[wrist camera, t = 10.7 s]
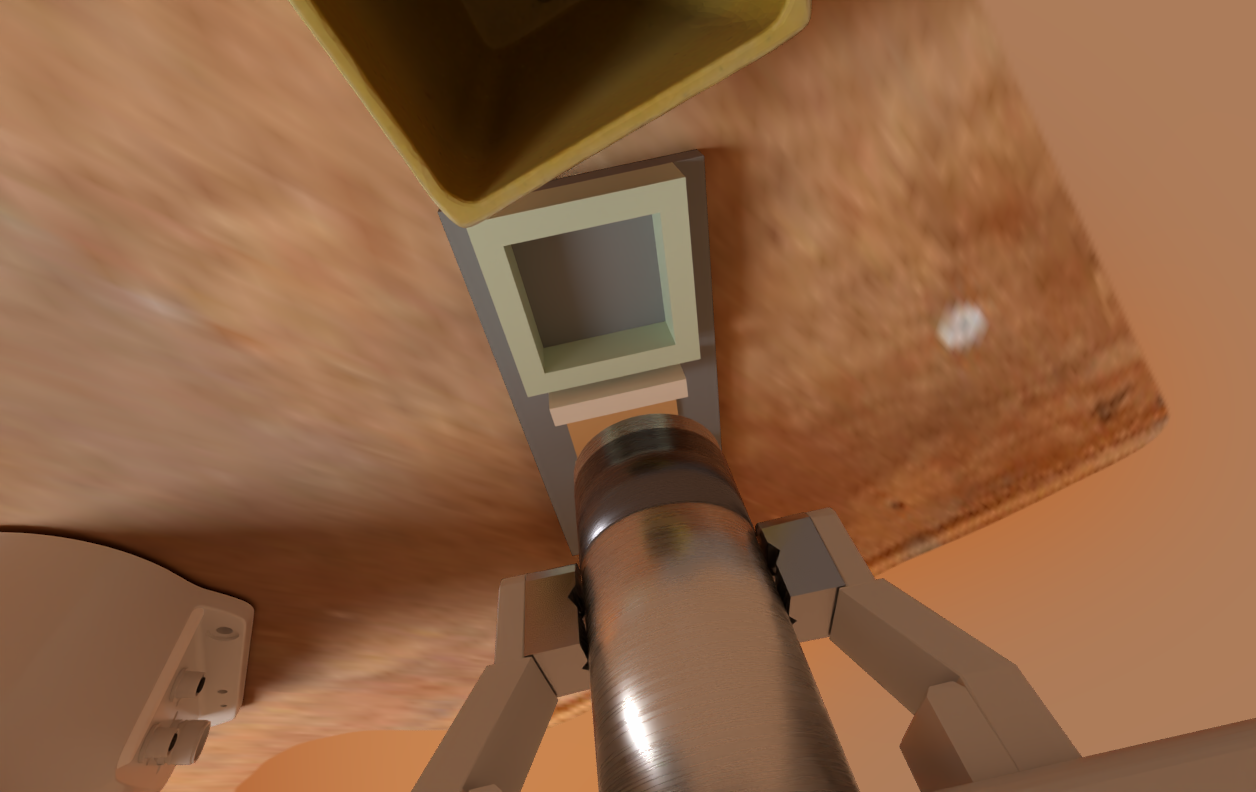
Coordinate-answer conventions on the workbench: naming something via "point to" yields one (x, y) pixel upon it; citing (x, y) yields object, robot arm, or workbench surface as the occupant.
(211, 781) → the workbench surface
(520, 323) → the pale green flat frame
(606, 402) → the cradle
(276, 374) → the workbench surface
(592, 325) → the board
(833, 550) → the robot arm
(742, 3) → the flower pot
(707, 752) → the cell
